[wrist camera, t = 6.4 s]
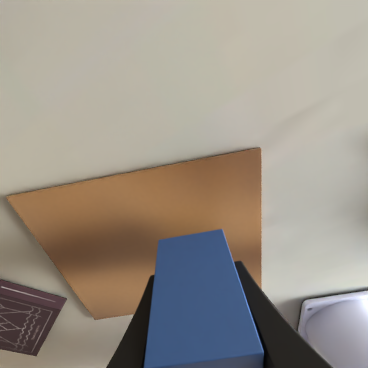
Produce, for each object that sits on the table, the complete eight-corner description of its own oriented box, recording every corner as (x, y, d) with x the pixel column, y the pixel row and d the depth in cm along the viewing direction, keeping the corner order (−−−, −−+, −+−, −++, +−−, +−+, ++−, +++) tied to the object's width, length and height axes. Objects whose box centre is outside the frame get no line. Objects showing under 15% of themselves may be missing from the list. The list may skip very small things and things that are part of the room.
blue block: (227, 271, 13) (263, 397, 8) (172, 280, 13) (169, 410, 8) (222, 228, 11) (264, 352, 6) (158, 239, 11) (142, 369, 6)
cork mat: (260, 291, 17) (261, 294, 17) (95, 316, 18) (94, 320, 18) (259, 147, 11) (261, 148, 11) (9, 195, 12) (5, 197, 12)
